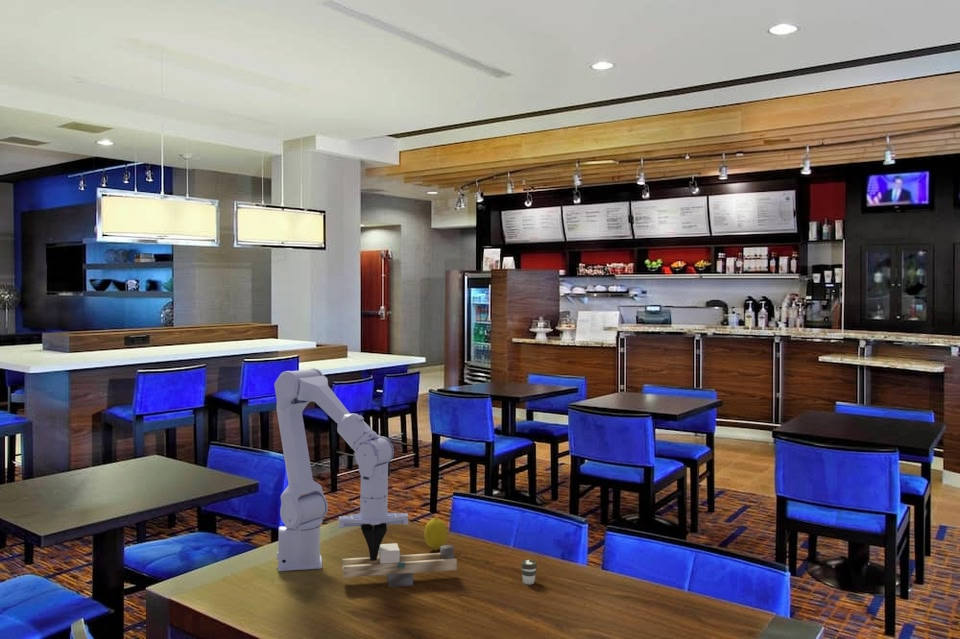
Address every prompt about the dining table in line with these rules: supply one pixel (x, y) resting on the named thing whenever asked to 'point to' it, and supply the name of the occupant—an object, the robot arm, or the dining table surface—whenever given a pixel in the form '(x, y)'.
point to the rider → (389, 553)
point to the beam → (401, 566)
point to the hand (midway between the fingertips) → (373, 559)
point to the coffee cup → (528, 571)
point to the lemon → (435, 533)
